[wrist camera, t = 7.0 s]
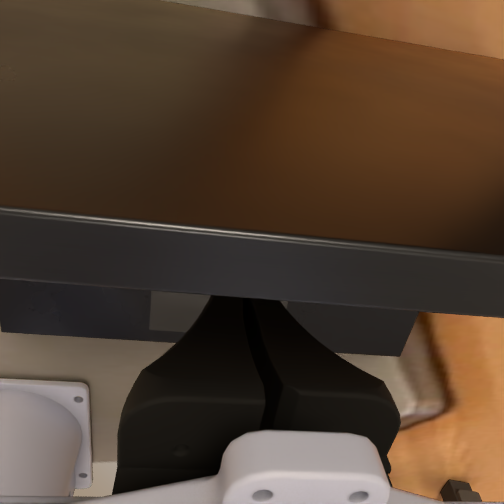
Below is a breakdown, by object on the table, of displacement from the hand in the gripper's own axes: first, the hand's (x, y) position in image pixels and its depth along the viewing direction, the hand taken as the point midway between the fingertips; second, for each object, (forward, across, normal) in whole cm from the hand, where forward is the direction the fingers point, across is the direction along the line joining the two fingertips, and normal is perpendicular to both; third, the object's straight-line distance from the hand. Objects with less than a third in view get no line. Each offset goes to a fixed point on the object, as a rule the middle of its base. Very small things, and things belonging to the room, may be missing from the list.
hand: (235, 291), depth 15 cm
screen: (-2, 0, -7) cm, 7 cm away
